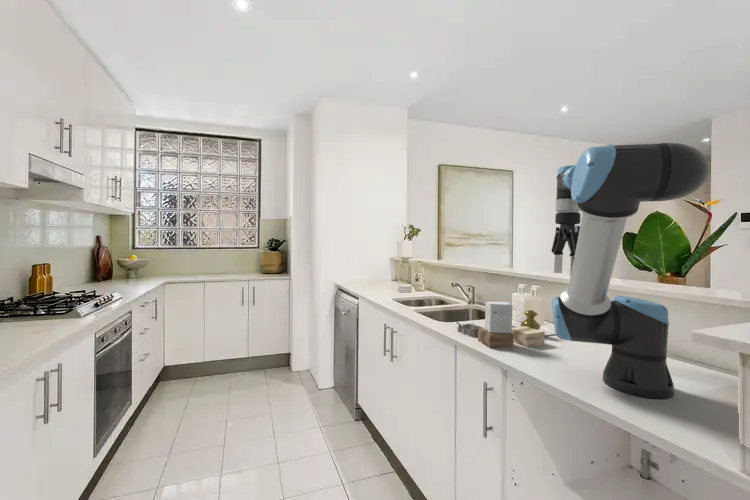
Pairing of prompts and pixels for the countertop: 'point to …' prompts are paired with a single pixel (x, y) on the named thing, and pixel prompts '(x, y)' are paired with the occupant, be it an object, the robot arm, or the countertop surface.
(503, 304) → the small box
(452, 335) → the countertop surface
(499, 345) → the walnut block
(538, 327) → the olive-gold lumpy piece
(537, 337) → the maple block
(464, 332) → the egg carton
